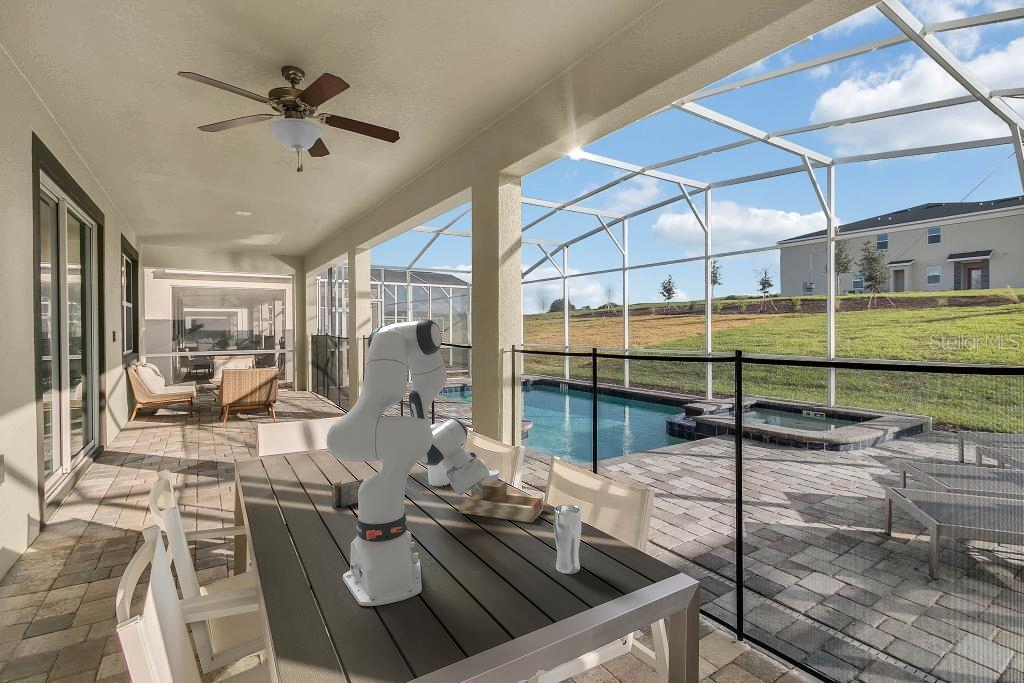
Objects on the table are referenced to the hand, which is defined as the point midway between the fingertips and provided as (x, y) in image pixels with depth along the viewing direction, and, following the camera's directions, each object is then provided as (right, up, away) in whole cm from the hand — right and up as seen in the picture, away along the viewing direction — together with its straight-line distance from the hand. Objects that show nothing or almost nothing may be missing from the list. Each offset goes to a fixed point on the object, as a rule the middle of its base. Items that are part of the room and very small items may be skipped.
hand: (484, 495), depth 162 cm
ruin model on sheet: (-49, -6, +7) cm, 50 cm away
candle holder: (-20, -5, +30) cm, 36 cm away
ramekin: (-1, -5, +27) cm, 28 cm away
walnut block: (+3, -4, -1) cm, 5 cm away
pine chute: (+6, -5, -2) cm, 8 cm away
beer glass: (+23, -5, -42) cm, 48 cm away
